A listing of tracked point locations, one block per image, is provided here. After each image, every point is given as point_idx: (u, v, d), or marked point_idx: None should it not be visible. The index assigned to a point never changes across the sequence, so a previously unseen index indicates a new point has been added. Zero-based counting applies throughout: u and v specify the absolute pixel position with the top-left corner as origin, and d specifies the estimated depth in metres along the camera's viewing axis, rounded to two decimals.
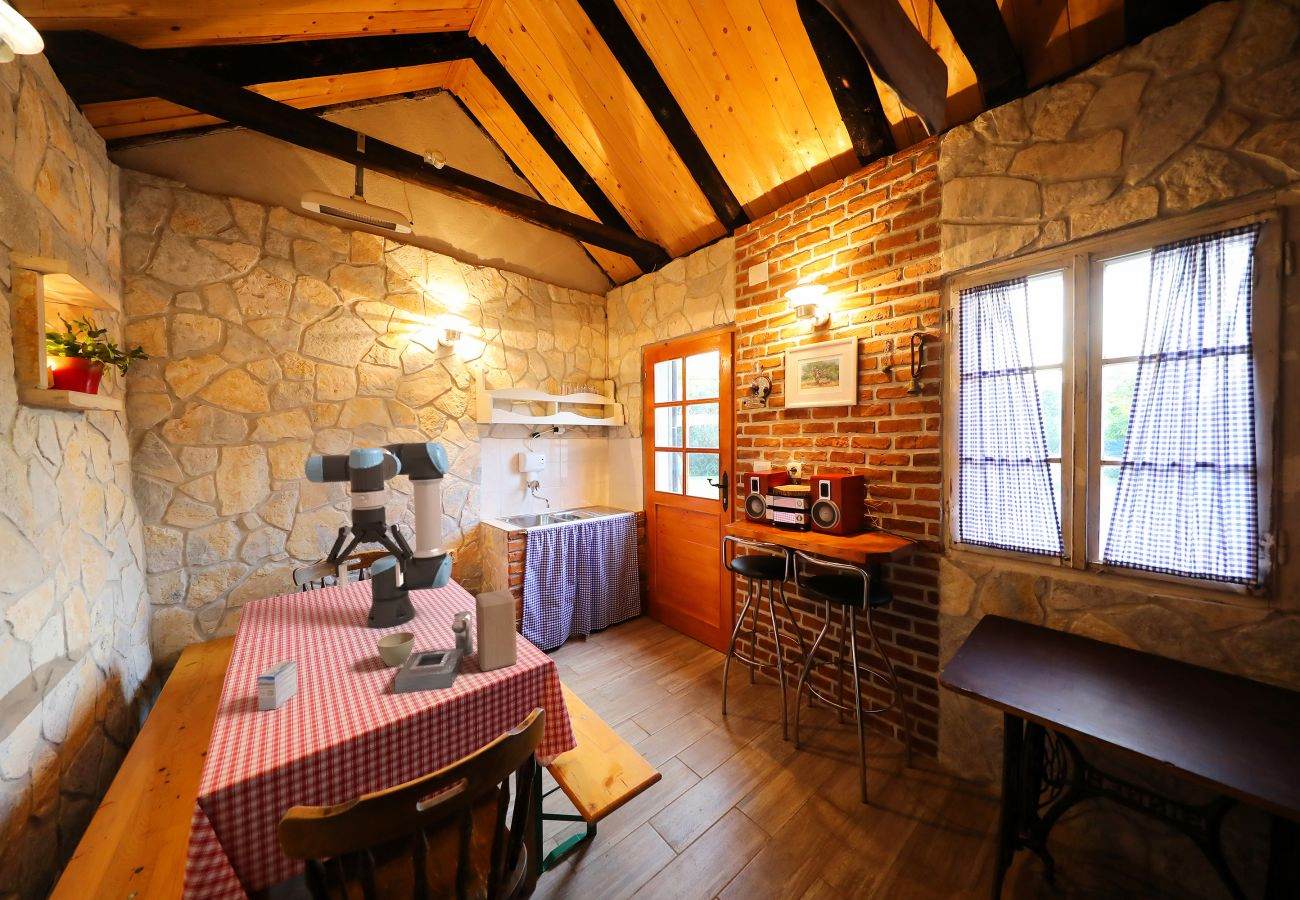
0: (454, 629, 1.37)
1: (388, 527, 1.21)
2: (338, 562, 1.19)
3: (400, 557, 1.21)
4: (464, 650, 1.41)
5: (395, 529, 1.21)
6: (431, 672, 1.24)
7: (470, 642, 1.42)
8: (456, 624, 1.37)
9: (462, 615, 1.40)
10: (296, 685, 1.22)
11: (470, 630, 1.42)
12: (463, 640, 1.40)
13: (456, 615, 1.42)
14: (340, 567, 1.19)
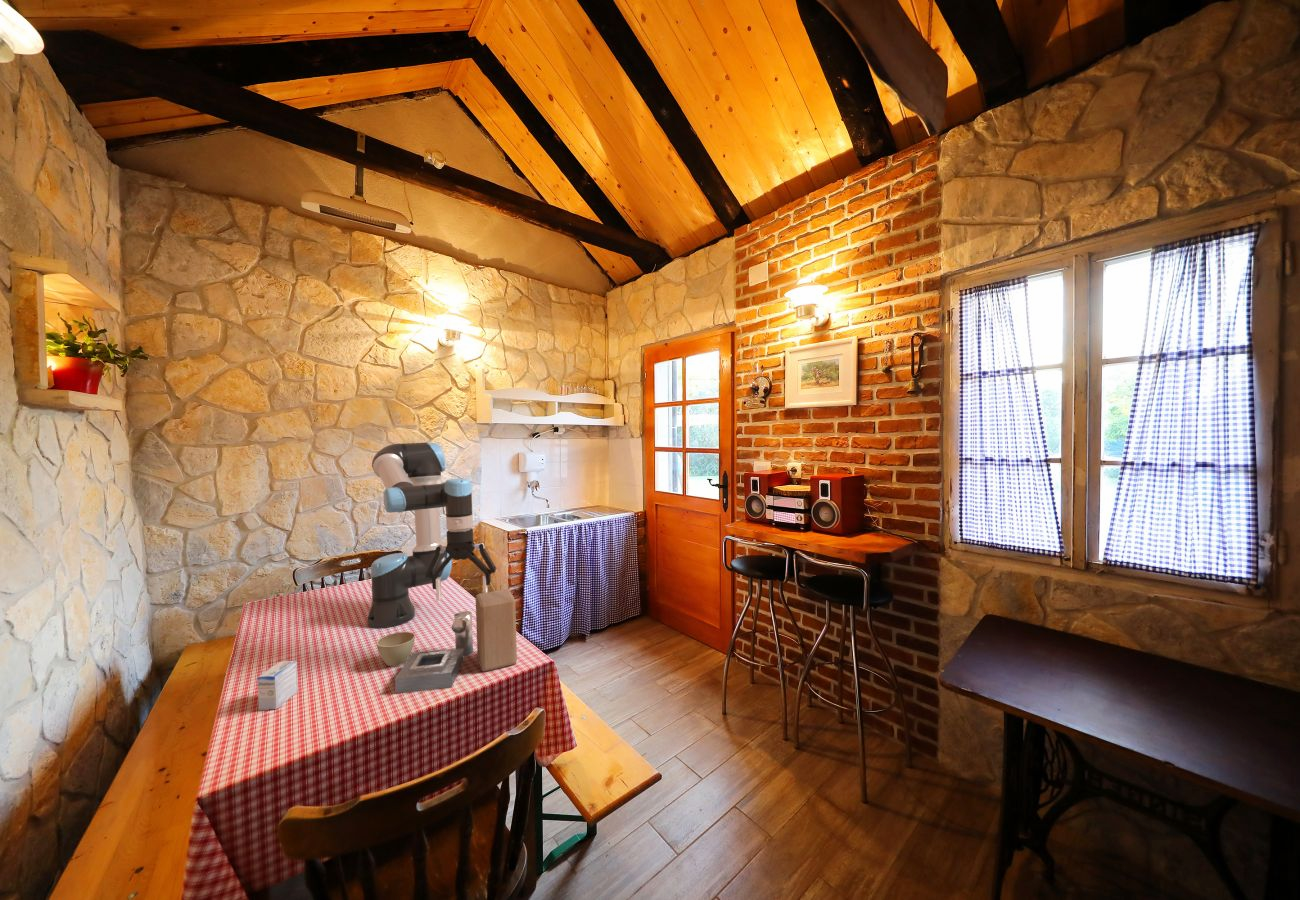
0: (454, 629, 1.37)
1: (476, 546, 1.42)
2: (435, 576, 1.39)
3: (486, 572, 1.42)
4: (464, 650, 1.41)
5: (482, 548, 1.41)
6: (431, 672, 1.24)
7: (470, 642, 1.42)
8: (456, 624, 1.37)
9: (462, 615, 1.40)
10: (296, 685, 1.22)
11: (470, 630, 1.42)
12: (463, 640, 1.40)
13: (456, 615, 1.42)
14: (437, 581, 1.39)
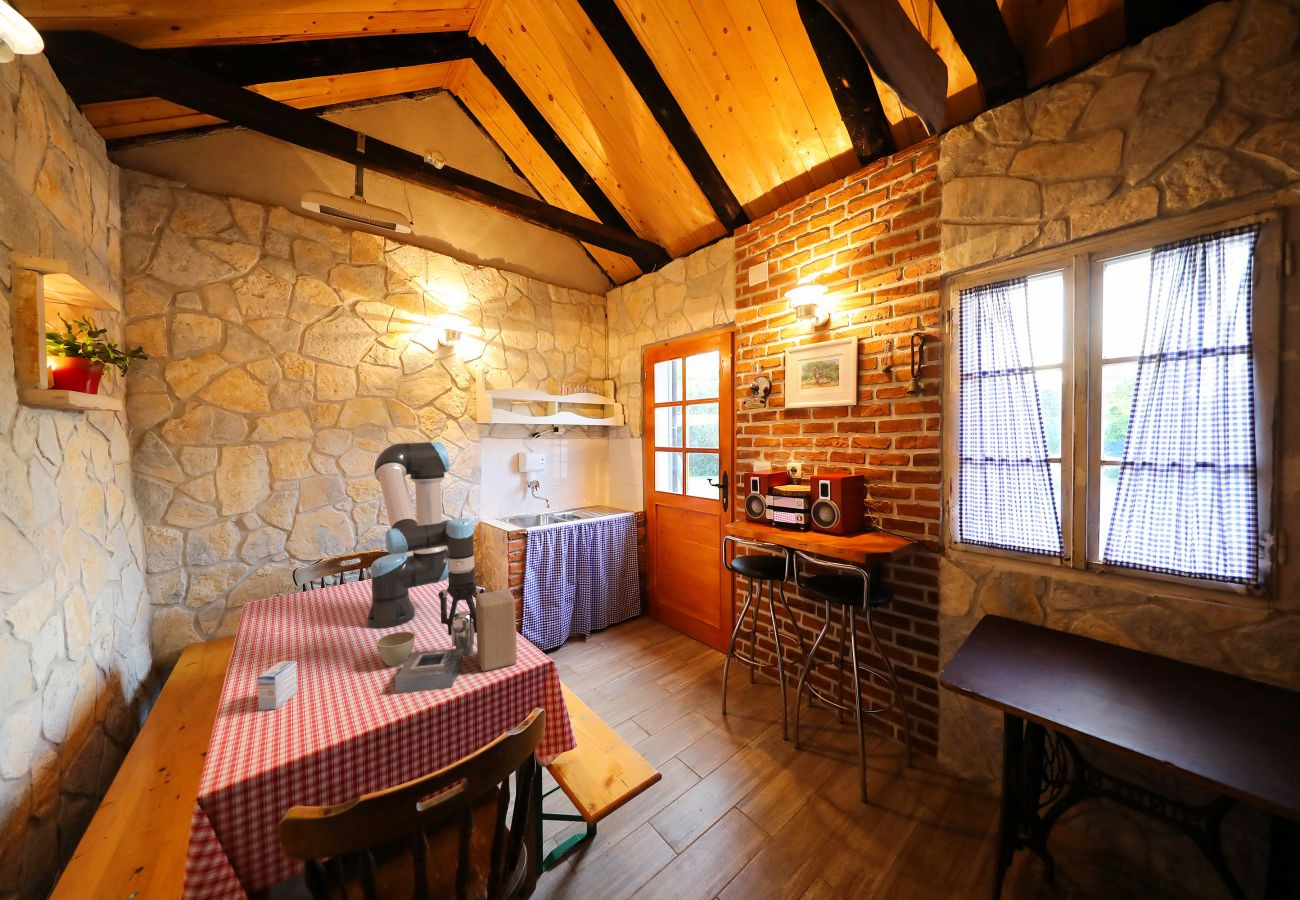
0: (454, 629, 1.37)
1: (477, 589, 1.42)
2: (450, 622, 1.41)
3: (475, 619, 1.42)
4: (464, 650, 1.41)
5: None
6: (431, 672, 1.24)
7: (470, 642, 1.42)
8: (456, 624, 1.37)
9: (462, 615, 1.40)
10: (296, 685, 1.22)
11: (470, 630, 1.42)
12: (463, 640, 1.40)
13: (456, 615, 1.42)
14: None
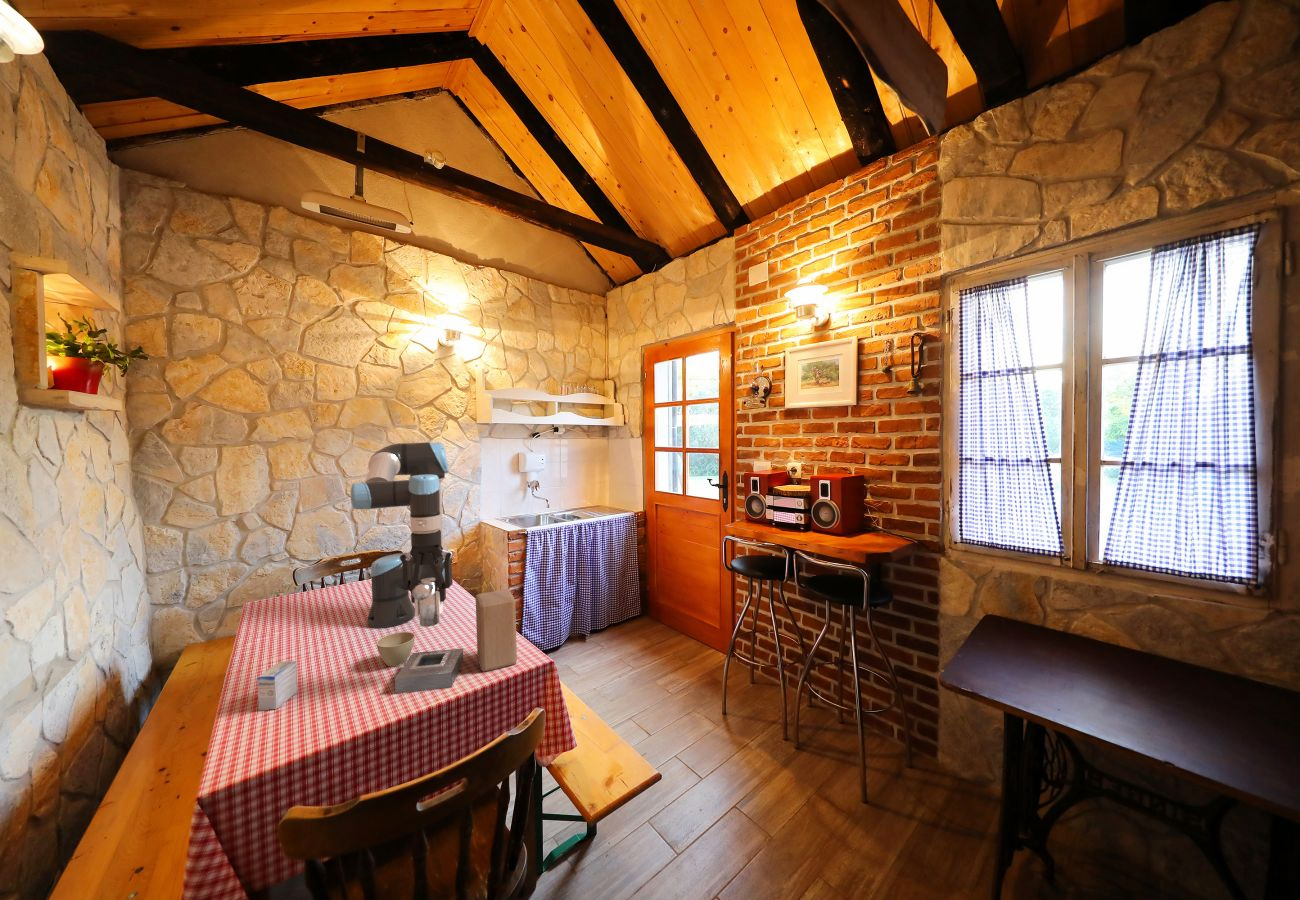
0: (415, 595, 1.22)
1: (443, 552, 1.27)
2: (413, 588, 1.26)
3: (441, 587, 1.27)
4: (428, 620, 1.26)
5: (448, 557, 1.27)
6: (431, 672, 1.24)
7: (435, 612, 1.27)
8: (417, 590, 1.22)
9: (426, 581, 1.26)
10: (296, 685, 1.22)
11: (435, 598, 1.27)
12: (426, 608, 1.26)
13: (420, 581, 1.27)
14: None
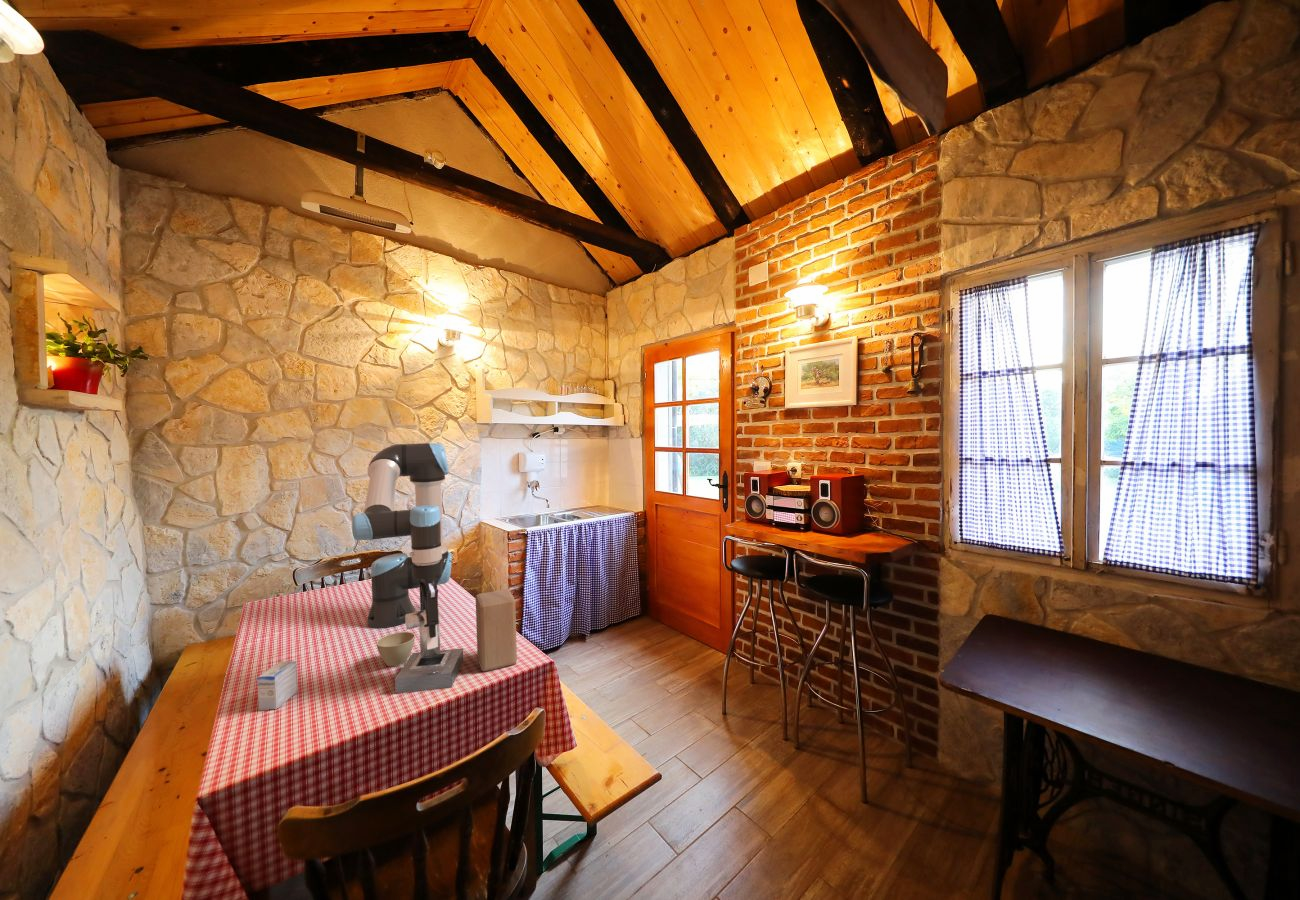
0: (405, 622, 1.26)
1: (429, 589, 1.24)
2: None
3: (427, 622, 1.24)
4: (421, 651, 1.27)
5: (427, 596, 1.22)
6: (431, 672, 1.24)
7: (426, 645, 1.26)
8: (405, 618, 1.25)
9: (420, 612, 1.27)
10: (296, 685, 1.22)
11: None
12: (420, 639, 1.27)
13: (425, 609, 1.29)
14: None
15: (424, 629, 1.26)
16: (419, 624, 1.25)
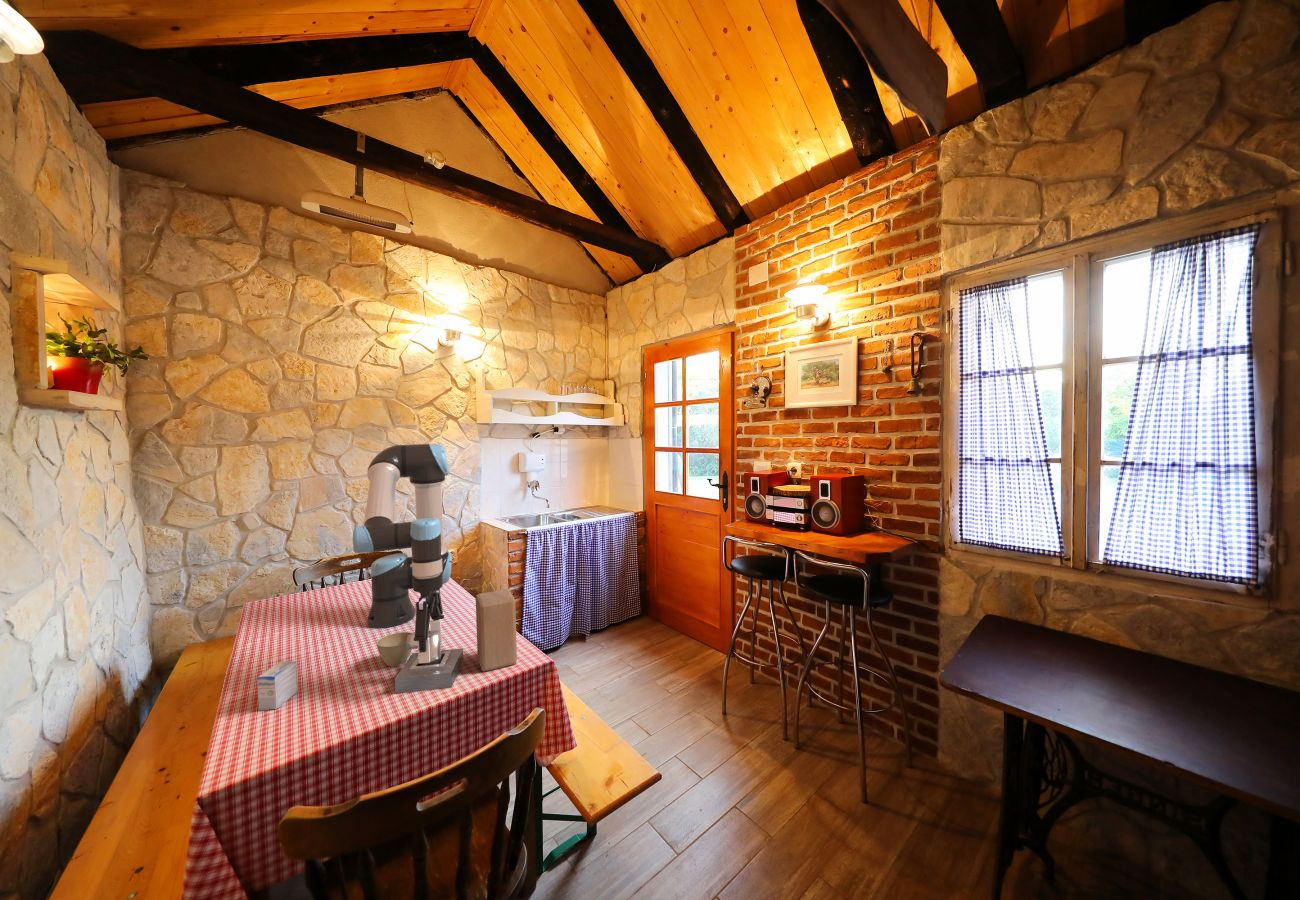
0: None
1: None
2: None
3: None
4: None
5: (416, 607, 1.21)
6: (431, 672, 1.24)
7: None
8: None
9: None
10: (296, 685, 1.22)
11: None
12: None
13: (430, 631, 1.30)
14: None
15: None
16: None
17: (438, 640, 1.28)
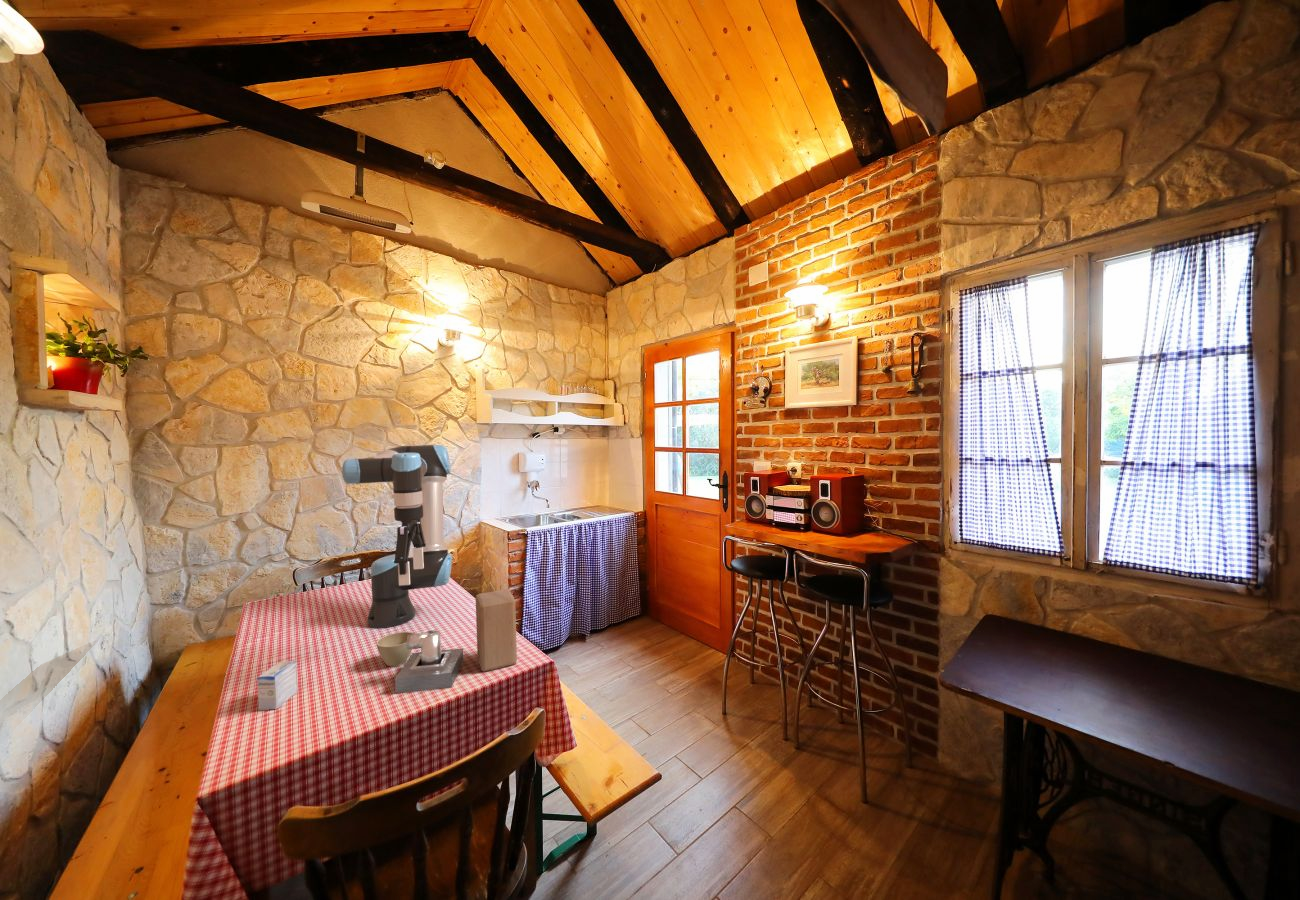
0: None
1: None
2: None
3: None
4: None
5: None
6: (431, 672, 1.24)
7: None
8: None
9: (422, 634, 1.28)
10: (296, 685, 1.22)
11: (424, 655, 1.26)
12: (421, 660, 1.28)
13: (430, 631, 1.30)
14: None
15: (422, 652, 1.27)
16: (418, 646, 1.26)
17: (438, 640, 1.28)
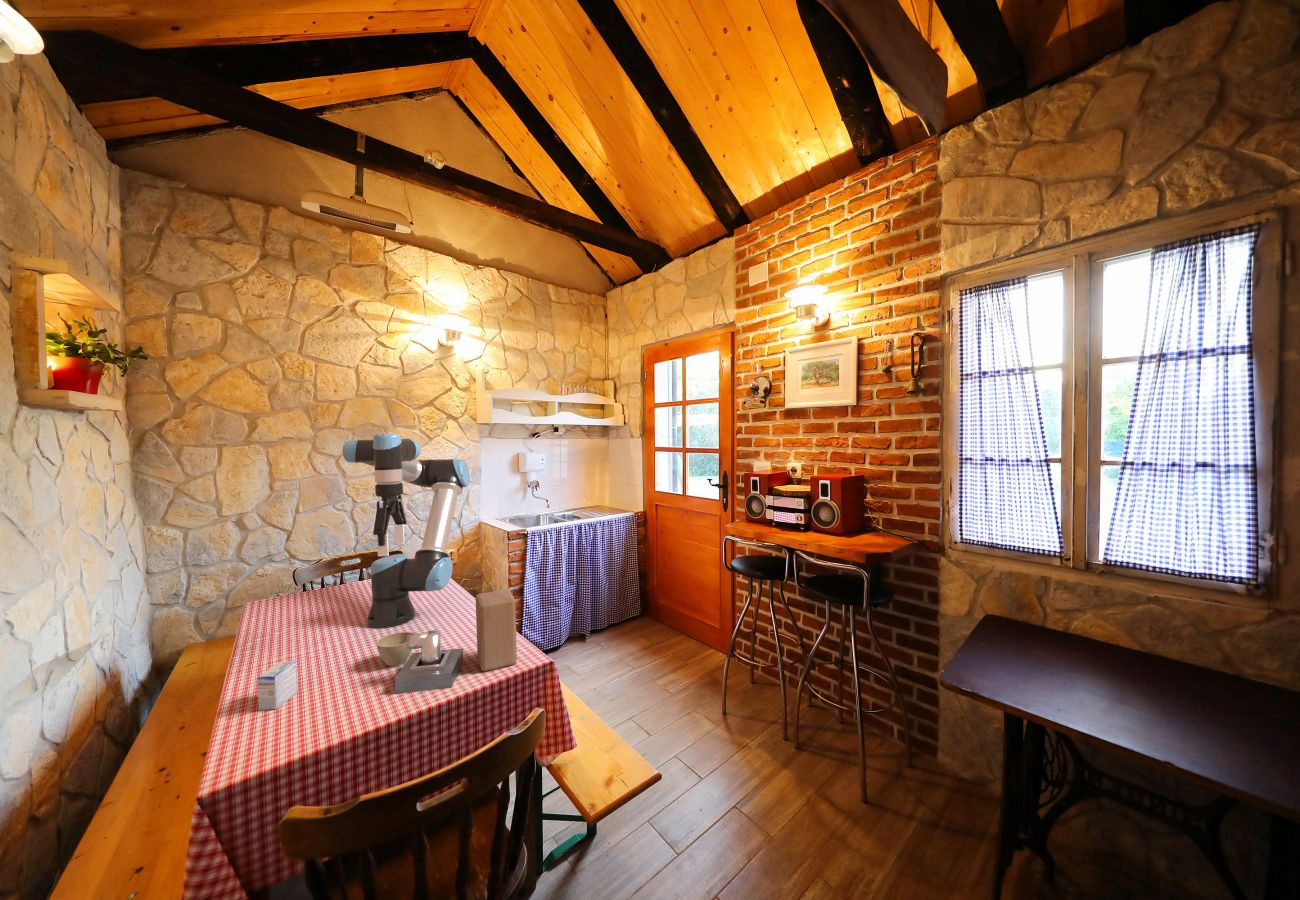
0: None
1: None
2: (395, 522, 1.51)
3: None
4: None
5: (377, 505, 1.37)
6: (431, 672, 1.24)
7: None
8: None
9: (422, 634, 1.28)
10: (296, 685, 1.22)
11: (424, 655, 1.26)
12: (421, 660, 1.28)
13: (430, 631, 1.30)
14: None
15: (422, 652, 1.27)
16: (418, 646, 1.26)
17: (438, 640, 1.28)
